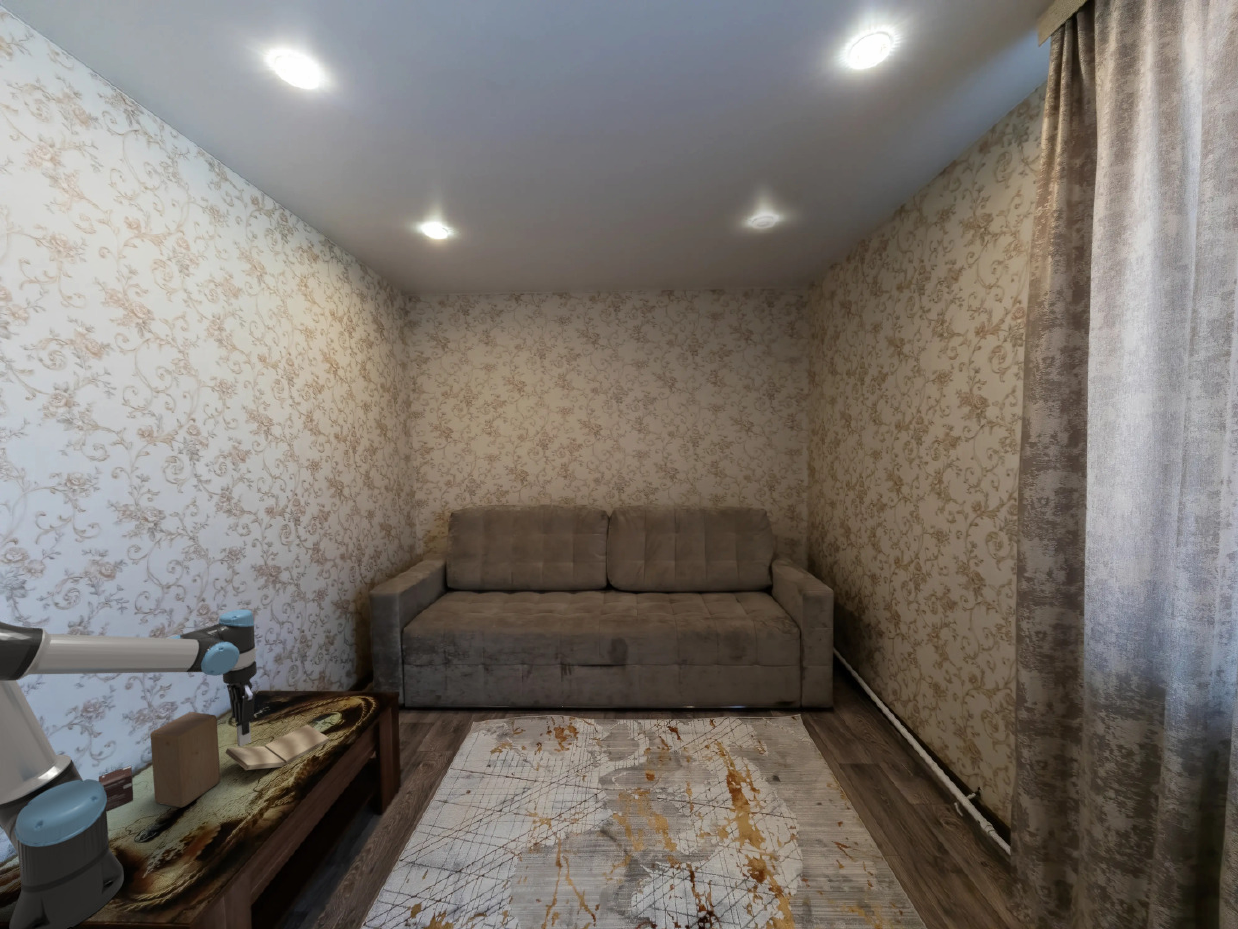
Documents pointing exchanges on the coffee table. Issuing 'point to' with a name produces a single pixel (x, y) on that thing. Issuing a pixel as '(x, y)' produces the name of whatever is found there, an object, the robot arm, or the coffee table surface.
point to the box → (118, 787)
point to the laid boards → (297, 743)
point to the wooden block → (185, 759)
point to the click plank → (254, 757)
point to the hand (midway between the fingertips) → (244, 743)
